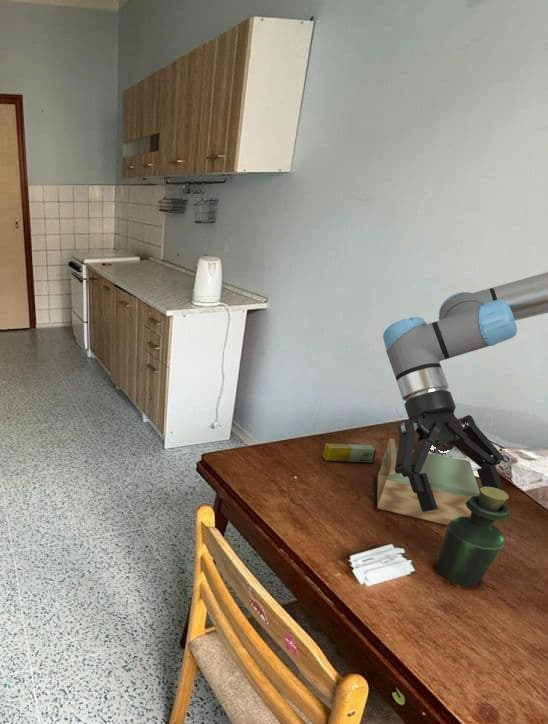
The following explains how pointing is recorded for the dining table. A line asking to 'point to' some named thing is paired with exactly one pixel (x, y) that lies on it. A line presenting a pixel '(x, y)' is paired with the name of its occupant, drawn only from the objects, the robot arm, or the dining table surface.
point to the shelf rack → (446, 480)
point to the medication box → (349, 452)
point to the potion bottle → (473, 538)
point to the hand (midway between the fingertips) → (464, 506)
